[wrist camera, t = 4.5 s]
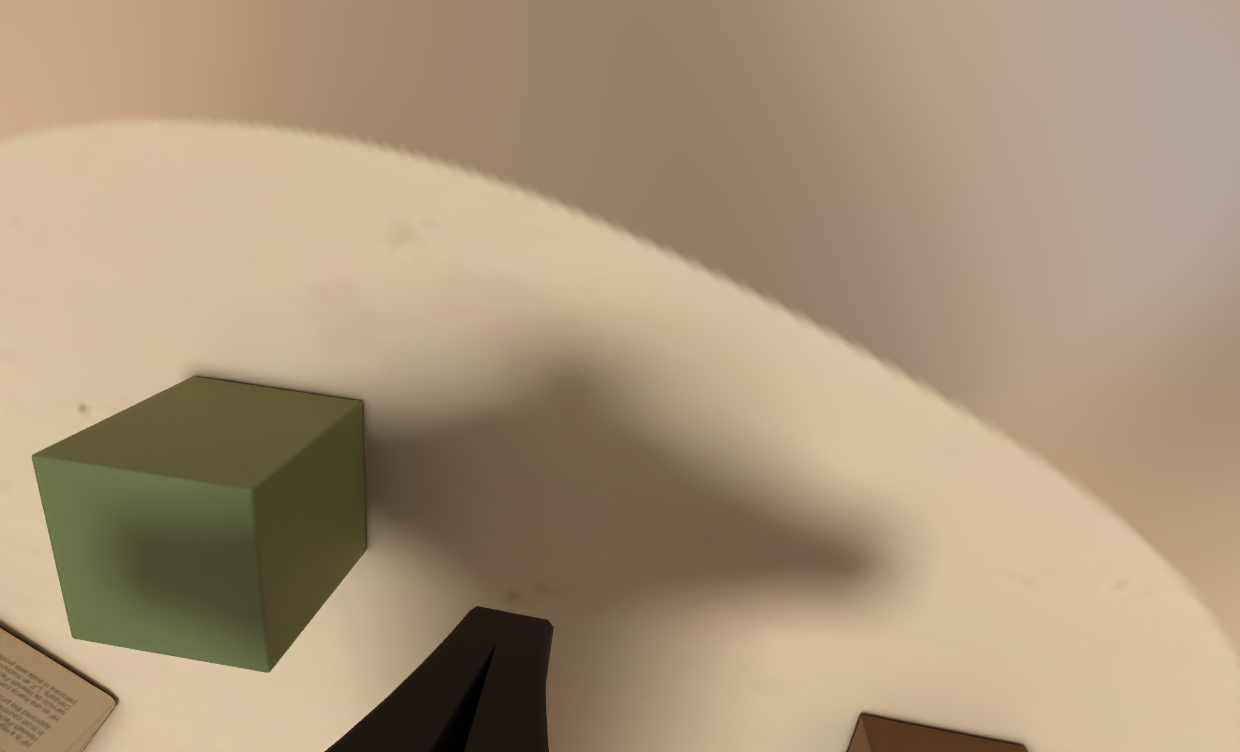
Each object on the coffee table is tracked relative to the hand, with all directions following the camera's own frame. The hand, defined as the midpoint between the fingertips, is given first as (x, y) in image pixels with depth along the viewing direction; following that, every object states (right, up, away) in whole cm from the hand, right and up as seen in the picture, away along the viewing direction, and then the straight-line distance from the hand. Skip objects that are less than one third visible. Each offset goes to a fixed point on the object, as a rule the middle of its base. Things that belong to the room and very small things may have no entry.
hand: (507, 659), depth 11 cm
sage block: (-6, +3, +5) cm, 8 cm away
